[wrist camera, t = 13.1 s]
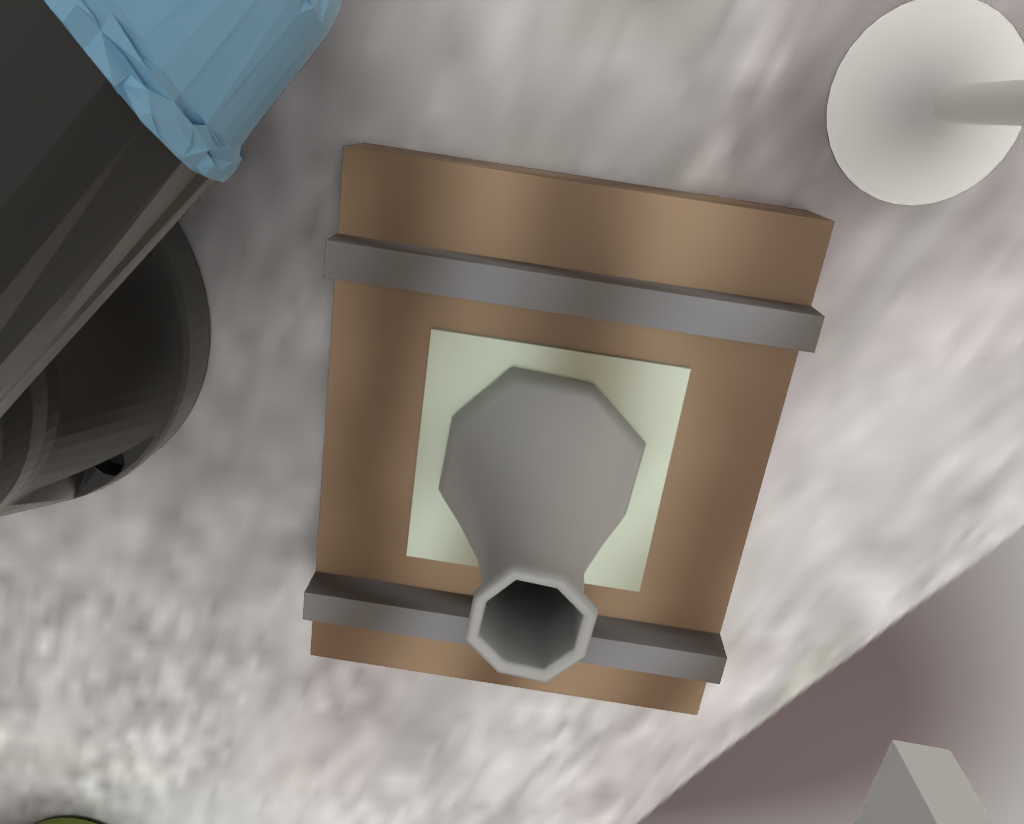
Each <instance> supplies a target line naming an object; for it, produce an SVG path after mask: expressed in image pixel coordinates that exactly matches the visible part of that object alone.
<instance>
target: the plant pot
mask: <svg viewBox="0 0 1024 824" xmlns="http://www.w3.org/2000/svg"><path fill="white" fill-rule="evenodd" d="M37 824H96V823H93V822H90V821H87V820H82V819H76V818H54V819H49V820H45V821H42V822H39V823H37Z"/></svg>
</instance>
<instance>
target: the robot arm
mask: <svg viewBox="0 0 1024 824" xmlns="http://www.w3.org/2000/svg"><path fill="white" fill-rule="evenodd" d="M342 1H343V0H0V516H4V515H9V514H13V513H17V512H21V511H25V510H29V509H34V508H38V507H42V506H46V505H50V504H54V503H58V502H63V501H67V500H71V499H75V498H78V497H81V496H84V495H87V494H90V493H93V492H95V491H98V490H100V489H102V488H104V487H106V486H108V485H110V484H112V483H114V482H116V481H118V480H119V479H121V478H123V477H124V476H126V475H127V474H129V473H130V472H131V471H133V470H134V469H135V468H137V467H138V466H139V465H140V464H142V463H143V462H144V461H145V460H146V459H148V458H149V457H150V456H151V455H152V454H154V453H155V452H156V451H157V450H158V449H160V448H161V447H162V446H163V445H164V444H165V443H166V442H167V441H168V440H169V439H170V438H171V437H172V436H173V435H174V434H175V433H176V432H177V430H178V429H179V428H180V426H181V425H182V424H183V422H184V421H185V419H186V418H187V416H188V414H189V413H190V411H191V409H192V407H193V405H194V403H195V401H196V399H197V397H198V394H199V392H200V389H201V386H202V383H203V380H204V376H205V372H206V367H207V362H208V354H209V342H210V326H209V313H208V305H207V300H206V294H205V290H204V286H203V282H202V278H201V275H200V272H199V269H198V266H197V263H196V261H195V258H194V256H193V253H192V251H191V248H190V246H189V244H188V242H187V240H186V238H185V236H184V234H183V232H182V230H181V229H180V227H179V225H178V223H177V221H178V220H179V219H180V218H181V217H182V216H183V215H184V213H185V212H186V211H187V210H188V209H189V208H190V207H191V206H192V205H193V204H194V202H195V201H196V200H197V199H198V198H199V197H200V196H201V195H202V194H203V192H204V191H205V190H206V189H207V188H208V187H209V186H210V185H211V184H212V182H213V181H214V180H215V181H219V182H222V183H223V182H225V181H227V179H228V178H229V177H230V176H231V175H232V174H233V173H234V172H235V171H236V170H237V168H238V166H239V164H240V162H241V160H242V159H243V153H242V144H243V143H244V141H245V140H246V139H247V137H248V136H249V135H250V133H251V132H252V131H253V129H254V128H255V127H256V125H257V124H258V122H259V121H260V120H261V118H262V117H263V116H264V115H265V113H266V112H267V111H268V110H269V108H270V107H271V106H272V104H273V103H274V102H275V101H276V99H277V98H278V97H279V96H280V94H281V93H282V92H283V91H284V89H285V88H286V87H287V85H288V84H289V83H290V82H291V80H292V79H293V78H294V77H295V75H296V74H297V73H298V72H299V70H300V69H301V68H302V67H303V65H304V64H305V63H306V61H307V60H308V59H309V58H310V56H311V55H312V54H313V53H314V51H315V50H316V49H317V48H318V46H319V45H320V44H321V42H322V41H323V40H324V39H325V37H326V36H327V34H328V33H329V31H330V30H331V28H332V27H333V25H334V23H335V21H336V18H337V16H338V14H339V12H340V9H341V5H342ZM855 824H994V822H993V821H992V819H991V817H990V816H989V814H988V812H987V811H986V809H985V807H984V806H983V804H982V802H981V801H980V799H979V798H978V796H977V794H976V793H975V791H974V789H973V788H972V786H971V784H970V783H969V781H968V780H967V778H966V776H965V775H964V773H963V771H962V770H961V768H960V766H959V765H958V763H957V762H956V760H955V758H954V757H953V755H952V753H951V752H950V750H946V749H941V748H935V747H930V746H924V745H918V744H913V743H907V742H902V741H896V740H892V742H891V744H890V747H889V749H888V751H887V753H886V755H885V758H884V760H883V762H882V764H881V766H880V769H879V771H878V773H877V775H876V777H875V780H874V782H873V784H872V786H871V788H870V791H869V793H868V795H867V797H866V799H865V802H864V804H863V806H862V808H861V811H860V813H859V815H858V817H857V819H856V821H855Z"/></svg>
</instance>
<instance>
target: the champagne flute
mask: <svg viewBox="0 0 1024 824" xmlns="http://www.w3.org/2000/svg"><path fill="white" fill-rule="evenodd" d="M1022 126H1024V44H1023V41H1022V40H1021V38H1020V36H1019V35H1018V33H1017V32H1016V30H1015V28H1014V27H1013V25H1012V24H1011V23H1010V22H1009V21H1008V20H1007V19H1006V18H1005V17H1004V16H1003V15H1002V14H1001V13H1000V12H998V11H997V10H995V9H993V8H992V7H990V6H988V5H987V4H985V3H983V2H980V1H977V0H914V1H911V2H908V3H906V4H903V5H901V6H899V7H897V8H895V9H893V10H892V11H890V12H888V13H886V14H885V15H883V16H882V17H880V18H879V19H878V20H877V21H876V22H874V23H873V24H872V25H871V26H869V27H868V28H867V29H866V30H865V31H864V32H863V33H862V34H861V35H860V37H859V38H858V39H857V40H856V41H855V42H854V44H853V45H852V46H851V47H850V49H849V50H848V52H847V54H846V55H845V57H844V59H843V60H842V62H841V64H840V65H839V67H838V70H837V72H836V75H835V78H834V80H833V83H832V85H831V89H830V94H829V99H828V104H827V131H828V136H829V142H830V147H831V149H832V151H833V154H834V156H835V158H836V161H837V163H838V165H839V166H840V168H841V169H842V170H843V172H844V173H845V175H846V176H847V177H848V179H849V180H851V181H852V182H853V183H854V184H855V185H856V186H857V187H858V188H860V189H861V190H862V191H864V192H866V193H867V194H869V195H871V196H873V197H875V198H876V199H879V200H883V201H886V202H889V203H893V204H901V205H922V204H930V203H935V202H938V201H941V200H945V199H948V198H951V197H953V196H955V195H957V194H959V193H961V192H963V191H965V190H967V189H969V188H971V187H972V186H973V185H975V184H976V183H977V182H979V181H980V180H981V179H983V178H984V177H986V176H987V175H988V174H989V173H990V172H991V171H992V170H993V169H994V168H995V167H996V166H997V165H998V164H999V163H1000V162H1001V161H1002V159H1003V158H1004V157H1005V155H1006V154H1007V152H1008V151H1009V149H1010V148H1011V147H1012V145H1013V144H1014V142H1015V140H1016V138H1017V136H1018V134H1019V132H1020V130H1021V128H1022Z"/></svg>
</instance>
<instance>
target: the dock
mask: <svg viewBox="0 0 1024 824" xmlns="http://www.w3.org/2000/svg"><path fill="white" fill-rule="evenodd" d="M834 222H835V221H832V220H830V219H827V218H825V217H822V216H820V215H817V214H815V213H812V212H810V211H806V210H800V209H793V208H787V207H780V206H774V205H767V204H761V203H754V202H748V201H741V200H734V199H728V198H721V197H715V196H708V195H702V194H695V193H689V192H682V191H675V190H669V189H662V188H656V187H649V186H643V185H636V184H630V183H623V182H616V181H610V180H603V179H597V178H590V177H584V176H577V175H571V174H564V173H557V172H551V171H544V170H538V169H531V168H525V167H518V166H512V165H505V164H499V163H492V162H485V161H479V160H472V159H466V158H459V157H453V156H446V155H440V154H433V153H426V152H420V151H413V150H407V149H400V148H394V147H387V146H381V145H374V144H367V143H362V144H356V145H350V146H344V147H343V163H342V178H341V193H340V209H339V224H338V234H336V235H334V236H332V237H331V238H329V239H327V240H326V242H325V259H324V276H323V277H324V278H331V279H335V285H334V301H333V316H332V331H331V347H330V362H329V377H328V393H327V408H326V423H325V439H324V454H323V469H322V485H321V500H320V515H319V531H318V546H317V561H316V572H315V574H314V576H313V577H312V579H311V581H310V583H309V585H308V587H307V589H306V590H305V592H304V608H303V619H305V620H311V621H313V623H312V638H311V653H310V655H314V656H321V657H327V658H334V659H340V660H347V661H353V662H359V663H366V664H372V665H379V666H385V667H391V668H398V669H404V670H411V671H417V672H424V673H430V674H436V675H443V676H449V677H456V678H462V679H468V680H475V681H481V682H488V683H494V684H501V685H507V686H513V687H520V688H526V689H533V690H539V691H545V692H552V693H558V694H565V695H571V696H578V697H584V698H590V699H597V700H603V701H610V702H616V703H622V704H629V705H635V706H642V707H648V708H655V709H661V710H667V711H674V712H680V713H687V714H693V715H697V714H698V710H699V707H700V703H701V699H702V696H703V692H704V689H705V685H706V682H710V683H716V684H720V681H721V677H722V674H723V670H724V667H725V663H726V660H727V656H726V653H725V650H724V646H723V643H722V640H721V636H720V631H721V628H722V624H723V620H724V617H725V613H726V610H727V606H728V602H729V599H730V595H731V592H732V588H733V584H734V581H735V577H736V574H737V570H738V567H739V563H740V559H741V556H742V552H743V549H744V545H745V541H746V538H747V534H748V531H749V527H750V523H751V520H752V516H753V513H754V509H755V505H756V502H757V498H758V495H759V491H760V488H761V484H762V480H763V477H764V473H765V470H766V466H767V462H768V459H769V455H770V452H771V448H772V444H773V441H774V437H775V434H776V430H777V427H778V423H779V419H780V416H781V412H782V409H783V405H784V401H785V398H786V394H787V391H788V387H789V383H790V380H791V376H792V373H793V369H794V365H795V362H796V358H797V355H798V351H799V350H800V351H806V352H813V353H814V352H815V349H816V345H817V342H818V338H819V335H820V331H821V328H822V324H823V321H824V316H823V315H822V314H821V313H819V312H818V311H817V310H816V309H814V308H813V307H812V306H811V304H812V301H813V297H814V294H815V290H816V286H817V283H818V279H819V276H820V272H821V269H822V265H823V261H824V258H825V254H826V251H827V247H828V243H829V240H830V236H831V233H832V229H833V225H834ZM512 367H516V368H520V369H525V370H529V371H534V372H539V373H543V374H548V375H553V376H557V377H562V378H566V379H571V380H576V381H580V382H585V383H590V384H594V385H595V386H596V387H597V388H598V389H599V390H600V391H601V393H602V394H603V395H604V396H605V397H606V398H607V399H608V401H609V402H610V403H611V404H612V405H613V406H614V407H615V409H616V410H617V411H618V412H619V413H620V414H621V415H622V416H623V418H624V419H625V420H626V421H627V422H628V423H629V424H630V426H631V427H632V428H633V429H634V430H635V431H636V432H637V433H638V435H639V436H640V437H641V438H642V439H643V440H644V441H645V443H646V446H645V450H644V453H643V457H642V460H641V463H640V467H639V470H638V474H637V477H636V481H635V484H634V488H633V491H632V495H631V498H630V501H629V505H628V508H627V512H626V515H625V516H624V518H623V519H622V521H621V522H620V524H619V525H618V526H617V527H616V529H615V530H614V531H613V532H612V534H611V535H610V536H609V537H608V539H607V540H606V541H605V543H604V544H603V545H602V547H601V548H600V550H599V551H598V553H597V554H596V556H595V558H594V559H593V561H592V562H591V564H590V565H589V567H588V568H587V570H586V571H585V573H584V593H585V594H586V595H587V596H588V598H589V599H590V600H591V601H592V602H593V603H594V604H595V605H596V607H597V609H598V615H597V618H596V622H595V625H594V629H593V632H592V636H591V639H590V642H589V646H588V649H587V653H586V656H585V657H584V658H583V659H581V660H580V661H578V662H577V663H575V664H574V665H572V666H571V667H569V668H568V669H566V670H565V671H563V672H562V673H561V674H559V675H558V676H556V677H555V678H553V679H552V680H550V681H549V682H547V683H546V682H541V681H536V680H531V679H527V678H522V677H517V676H512V675H507V674H503V673H498V672H497V671H496V670H495V669H494V668H493V667H492V666H491V665H490V664H489V663H488V662H487V661H486V660H485V659H484V658H483V657H482V656H481V655H480V654H478V653H477V652H476V651H475V650H474V649H473V648H472V647H471V646H470V645H469V644H468V643H467V642H466V641H465V633H466V628H467V624H468V619H469V615H470V610H471V606H472V601H473V597H474V592H475V591H476V589H477V588H478V587H479V586H481V585H482V582H481V576H480V570H479V564H478V560H477V558H476V556H475V554H474V552H473V550H472V548H471V546H470V544H469V542H468V540H467V538H466V536H465V534H464V532H463V530H462V528H461V526H460V524H459V523H458V521H457V520H456V518H455V516H454V515H453V513H452V512H451V510H450V508H449V507H448V505H447V503H446V502H445V500H444V499H443V497H442V495H441V493H440V491H439V489H438V488H439V483H440V478H441V472H442V467H443V462H444V457H445V452H446V447H447V441H448V436H449V431H450V426H451V421H452V417H453V416H454V415H456V414H457V413H458V412H459V411H460V410H462V409H463V408H464V407H465V406H466V405H468V404H469V403H470V402H471V401H472V400H474V399H475V398H476V397H477V396H478V395H480V394H481V393H482V392H483V391H485V390H486V389H487V388H488V387H489V386H491V385H492V384H493V383H494V382H495V381H497V380H498V379H499V378H500V377H501V376H503V375H504V374H505V373H506V372H507V371H509V370H510V369H511V368H512Z"/></svg>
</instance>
